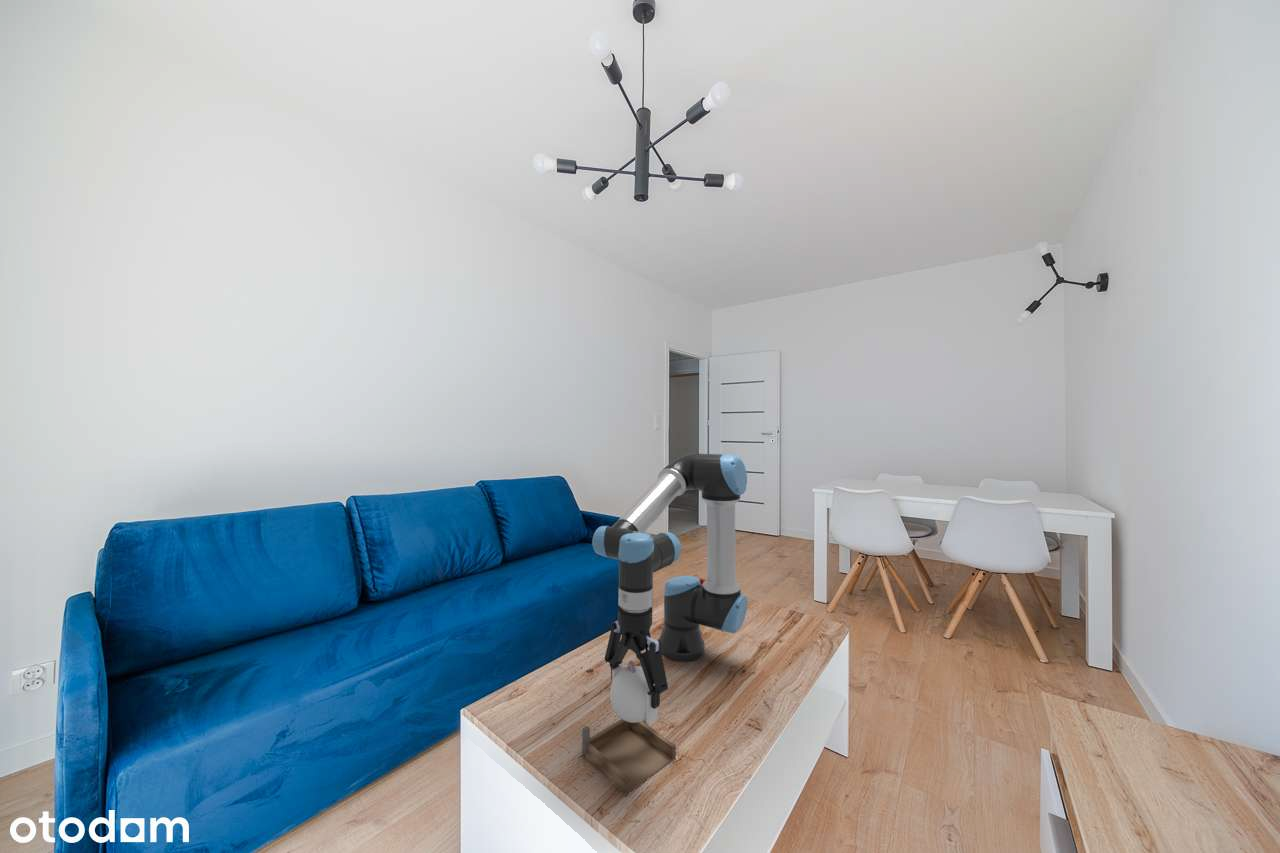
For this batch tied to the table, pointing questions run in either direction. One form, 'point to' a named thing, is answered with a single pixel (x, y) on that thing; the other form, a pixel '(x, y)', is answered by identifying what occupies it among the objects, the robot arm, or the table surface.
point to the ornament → (629, 694)
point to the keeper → (628, 753)
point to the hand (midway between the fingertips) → (633, 708)
